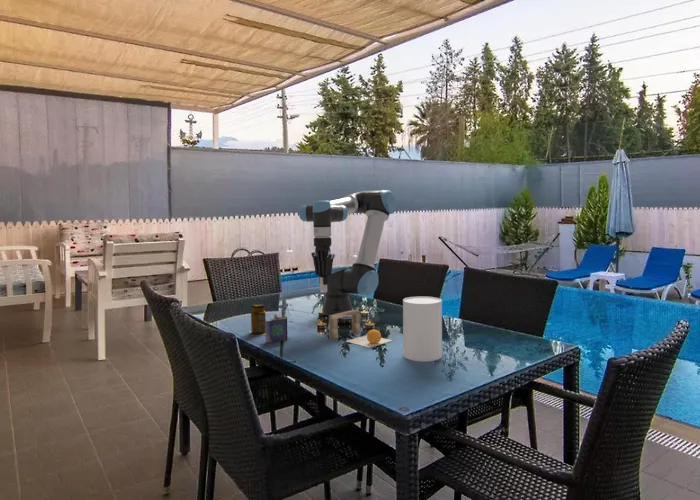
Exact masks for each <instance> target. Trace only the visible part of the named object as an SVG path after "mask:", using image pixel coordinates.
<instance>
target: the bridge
mask: <svg viewBox="0 0 700 500" xmlns="http://www.w3.org/2000/svg"><path fill="white" fill-rule="evenodd" d="M346 317H351V333H355V334H358V333H361V310H358V309H353V310H351V311H346V312H342V313H337V314H333V315H329V316H328V331H329V332H328V336H329V337H328V339H329V338H330V339H332V340H336V339H338V338H339V330H338V327H339V326H338V321H339V320H338V319H342V318H346Z"/></svg>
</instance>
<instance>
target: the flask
mask: <svg viewBox="0 0 700 500" xmlns="http://www.w3.org/2000/svg"><path fill="white" fill-rule="evenodd" d="M265 332H266V335H265V343H266V344H272V343H278V342H284V341H288V318H287V317H286V316H285V317H283V316H278V314H276V313H275V314H274V315H273V318H272V319H266V321H265Z"/></svg>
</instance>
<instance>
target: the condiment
mask: <svg viewBox="0 0 700 500" xmlns="http://www.w3.org/2000/svg"><path fill="white" fill-rule="evenodd" d="M266 320H267V319H266V311H265V304H263V303H257V304H252V305H251V312H250V323H251V324H250V325H251V330H248V333H249V334H250V336H251V337H256V336H257V337H258V336H259V337H260V336H266V332H265V321H266Z"/></svg>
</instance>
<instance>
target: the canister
mask: <svg viewBox="0 0 700 500" xmlns="http://www.w3.org/2000/svg"><path fill="white" fill-rule="evenodd" d="M442 300H443V299H441V298H439V297H434V296H425V295H424V296H421V295H420V296H419V295H418V296H409V297H405V298H403V299H402V309H403V310H402V327H403V328H402V330H403V332H402V333H403V335H402V338H403V341H402V342H403V346H402V347H403V349H402V350H403V352H402V353H403V357H404V358H405V359H407V360H409V361H415V362H434V361H438V360H440V359H442V357H443V314H442V313H443V306H442V305H443V301H442Z"/></svg>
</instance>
